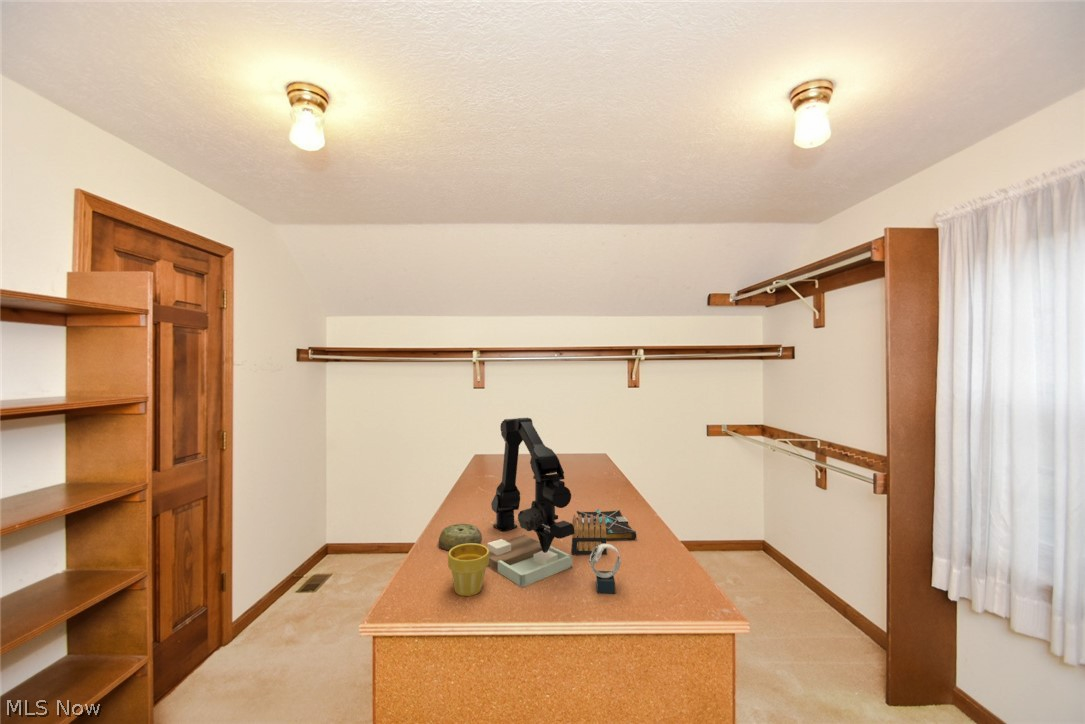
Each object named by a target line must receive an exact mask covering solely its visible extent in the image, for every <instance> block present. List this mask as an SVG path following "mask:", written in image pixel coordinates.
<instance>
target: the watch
mask: <svg viewBox="0 0 1085 724" xmlns="http://www.w3.org/2000/svg"><path fill="white" fill-rule="evenodd" d="M605 548H607V550H608V549H609V550H612V551H613V552H615V553H616V554H617V558H616V560H615V563H614V565H613V567H612V568H611V570H597V569H596V568H595V565H596V564H597V563H599V561H600V560H601V556H603V555H602V552H603V550H604V549H605ZM588 562H589V564H590V568H591V571H592V572H593V574H594V575H595V584H596V593H597V594H599V595H600V594H601V595H602V594H603V595H616V584H615V583H616V582H615V581H616V580H615V577H614V576H615V575H616V574H617V572H618V571H619V569H620V566H621V564H622V561H621V555H620V553H619V550H618V549H617V547H616V546H614V545H612V544H611V543H606V544H601V543H600V545H597V546H596V547H595V546H594V549H593V551H592V553H591V555H589V559H588Z"/></svg>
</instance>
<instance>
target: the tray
mask: <svg viewBox="0 0 1085 724" xmlns="http://www.w3.org/2000/svg"><path fill="white" fill-rule="evenodd" d="M549 551H551V552H554V553H556V554H558V560H555V561H553V562H550V563H548V564H545V565H541V564H538V563H536V562H534V557H532V558H529V559H526V560H523V561H521V562H518V563H515V564H512V565H508V564H506V563H505V562H503V561H501V560H500V561H498V572H497V573H499V574H500V575H502V576H503V577H505V578H506V579H508V580H510V581H511V582H513V583H514V584H516V585H517V586H519V587H520V588H524V587H527V586H529V585H531V584H534V583H536V582H538V581H541V580H543V579H546V578H548V577H551V576H553V575H556V574H557V573H561V572H563V571H565V570H567V569H570V568H572V567H573V555H572V554H569V553H567V552H565V551H562V550H560V549H559V548H556V547H554V546H552V545H550V547H549Z"/></svg>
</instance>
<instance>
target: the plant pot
mask: <svg viewBox="0 0 1085 724" xmlns="http://www.w3.org/2000/svg"><path fill="white" fill-rule="evenodd" d="M447 564H448V568H449V570H450V571H451V576H452V582H453V586H454V592H455V593H456V594H457V595H459V596H461V597H462V596H463V597H471V596H475V595H477V594H478V593H480V592H481V591H482V588H483V587H482V586H483V582H484V578H485V573H486V568H487V567H489V566H488V564H489V549H488V548H487V546H485V545H484V544H481V543H480V544H476V543H468V544H461V545H458V546H455V547H453V548H452V549H451V550H448V553H447Z"/></svg>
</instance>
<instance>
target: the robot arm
mask: <svg viewBox="0 0 1085 724" xmlns="http://www.w3.org/2000/svg"><path fill="white" fill-rule="evenodd" d="M533 424H534V423H533V419H532V418H529V417H518V418H505V419H504V420H502V421H501V423H500V432H501V433H500V434H501V437H502V439H503V440H504V444H505V445H504V453H503V467H502V477H501V482H500V483H499V484H498V486H497V487H496V489H495V495H494V497H493V499H492V500H491V502H490V505H491V510H492V511H493V512H494V513H496V516H495V517H496V520H495V522H496V523H495V524H493V525H492V527H493V528H495V529H496V530H499V531H501V532H505V531H509V530H512V529H516V528H518V525H517V524H515V510H517V511H519V509H520V508H519V507H520V503H521V492H520V490H519V488H518V487H517V483H516V482H517V471H518V463H519V462H518V461H519V453H520V452H519V451H520V450H519V449H520V446H521V444H522V442H523V443H524V445H525V447H526V448H527V450H528V452H529V454H530V460H529V464H530V468H531V470H532V471H531V472H532V473H533V477H532V478H533V480H534V482H535V483H534V484H535V485H534V486H535V487H534V488H535V489H534V491H535V492H534V495H535V496H534V497H535V500H533V501H531V505H530V506H531V507H529V508H526V509H523V510H520V511H519V512H518V514H517V521H518V522H519V526H520V529H523V530H526V531H527V532H532V531H533V532H534V533H536V536H537V538H538V542H540V545H541V548H542V551H543V552H544V553H546V552H548V550H549V547H550V546H552V543H553V541H554V539H555V538H556V539H564V538H567V537H569V536H572V535H573V534H574V525H573V523H571V522H569V521H566V520H561V521H556V520H558V519H559V515H557V514H556V508H559V509H563V508H565V507H567V506H568V505H569V504H570V503H571V500H572V492H571V491H570V489H569V488H568V487H567V486H566V483H565V481H564V480H565V475H564V474H565V472H564V470H563V467H562V465H561V462H560V459H559V457H558V456H557V454H556V453H555V451H553V449H551V448H550V447H548V446H546V445H545V444H544V442H543V440H542V439H541V437H540V435H539V433H538V431H537V430H536V428H535V426H534V425H533Z"/></svg>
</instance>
